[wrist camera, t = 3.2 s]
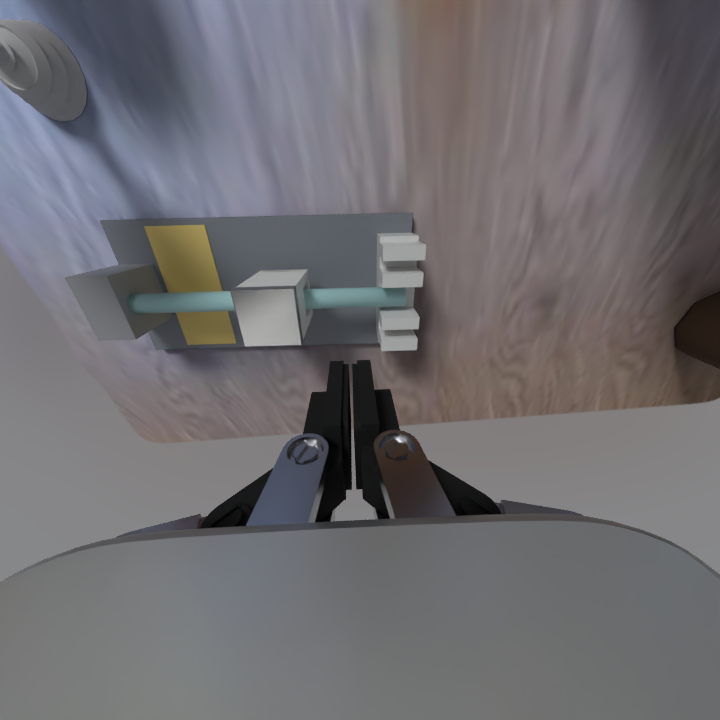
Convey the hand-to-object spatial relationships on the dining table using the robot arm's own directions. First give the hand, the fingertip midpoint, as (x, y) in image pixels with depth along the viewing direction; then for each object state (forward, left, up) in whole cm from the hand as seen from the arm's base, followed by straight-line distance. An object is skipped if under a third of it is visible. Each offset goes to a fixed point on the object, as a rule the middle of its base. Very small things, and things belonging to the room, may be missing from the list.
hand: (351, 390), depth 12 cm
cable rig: (+8, 0, -17) cm, 19 cm away
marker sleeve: (+6, 0, -14) cm, 16 cm away
